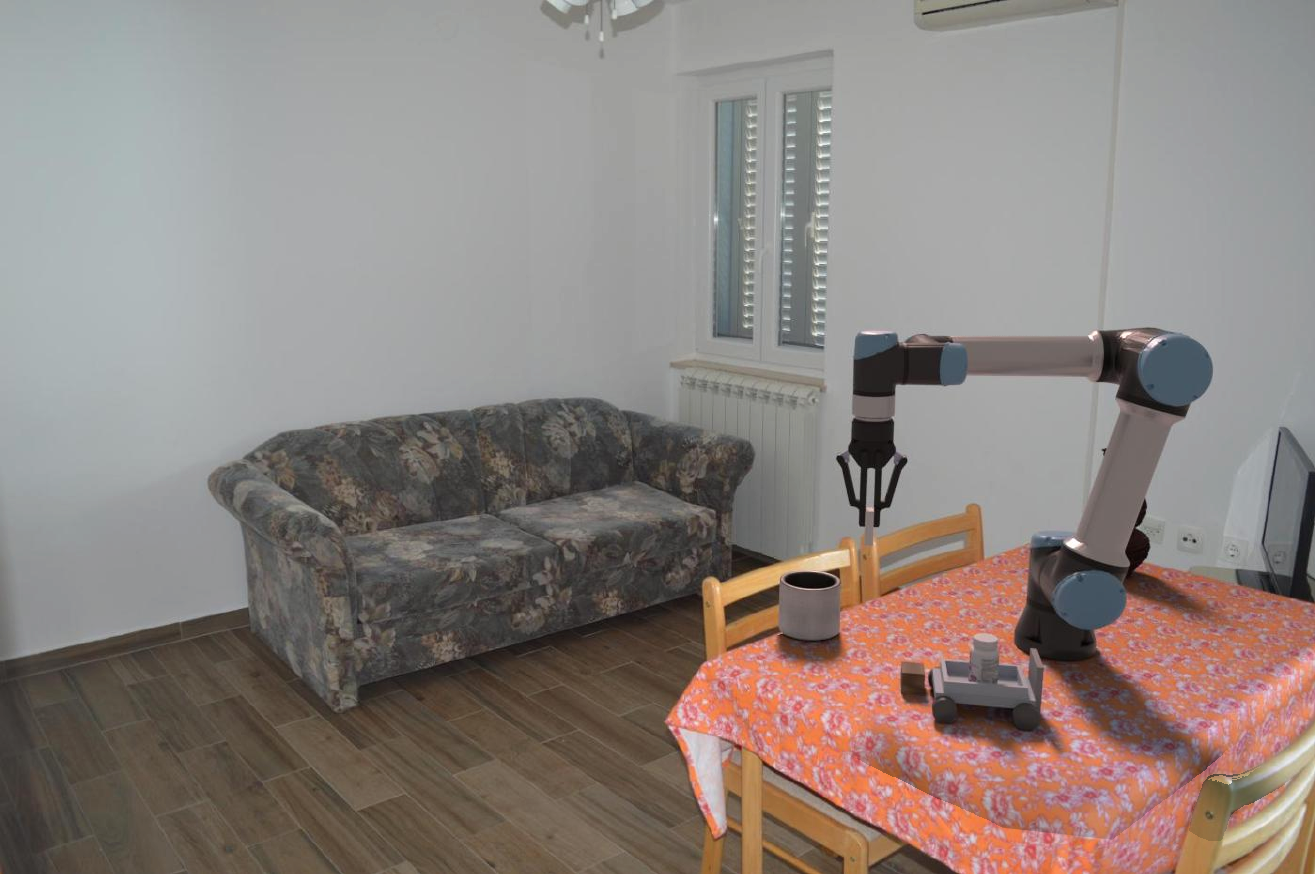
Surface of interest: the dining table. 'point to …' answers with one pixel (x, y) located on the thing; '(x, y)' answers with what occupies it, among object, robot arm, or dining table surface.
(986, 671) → the pill bottle
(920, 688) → the block
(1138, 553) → the vase
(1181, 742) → the dining table surface
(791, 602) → the planter
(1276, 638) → the dining table surface
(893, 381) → the robot arm
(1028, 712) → the trolley
